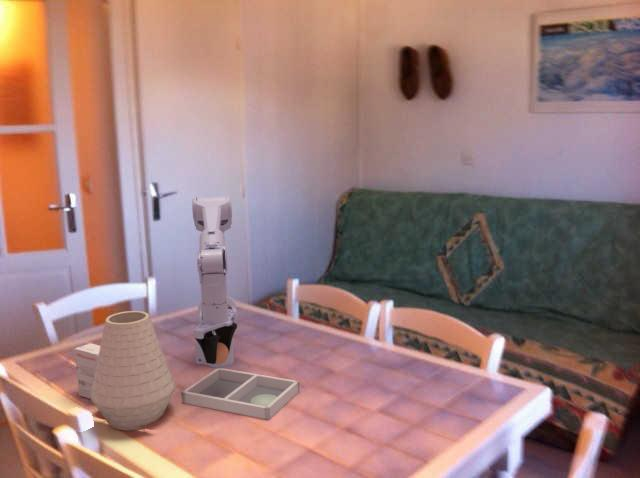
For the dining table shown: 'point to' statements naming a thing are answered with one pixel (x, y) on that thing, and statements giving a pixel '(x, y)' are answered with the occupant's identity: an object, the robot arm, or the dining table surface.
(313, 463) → the dining table surface
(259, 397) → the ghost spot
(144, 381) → the vase
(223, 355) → the ball
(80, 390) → the ink box
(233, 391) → the tray
